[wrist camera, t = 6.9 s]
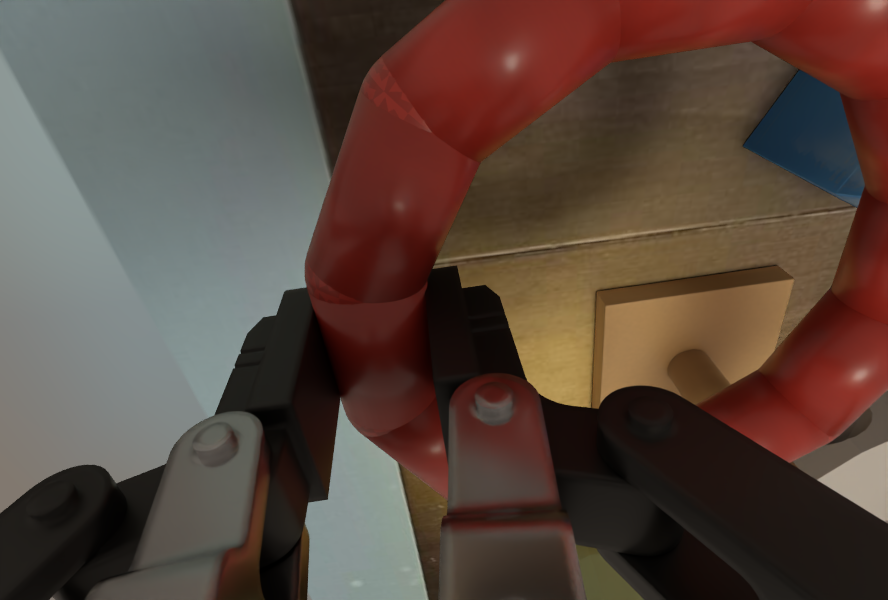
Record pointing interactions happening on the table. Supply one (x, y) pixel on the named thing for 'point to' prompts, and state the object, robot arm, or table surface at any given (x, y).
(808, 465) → the grey plate
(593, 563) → the tennis ball
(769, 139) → the perfume bottle
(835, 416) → the ring
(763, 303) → the peg stand
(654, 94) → the table surface
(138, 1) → the table surface
